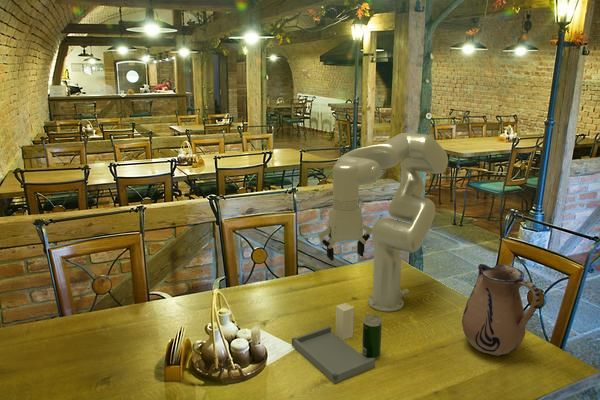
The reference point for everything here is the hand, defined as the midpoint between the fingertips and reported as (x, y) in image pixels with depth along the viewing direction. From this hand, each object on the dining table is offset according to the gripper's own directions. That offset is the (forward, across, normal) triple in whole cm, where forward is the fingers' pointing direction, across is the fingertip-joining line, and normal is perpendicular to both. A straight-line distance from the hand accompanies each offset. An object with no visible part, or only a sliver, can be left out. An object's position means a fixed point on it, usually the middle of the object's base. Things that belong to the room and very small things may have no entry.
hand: (345, 256), depth 150 cm
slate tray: (+25, +9, +13) cm, 30 cm away
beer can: (+25, -2, +16) cm, 30 cm away
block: (+25, +2, +3) cm, 26 cm away
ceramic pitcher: (+26, -39, +23) cm, 53 cm away
